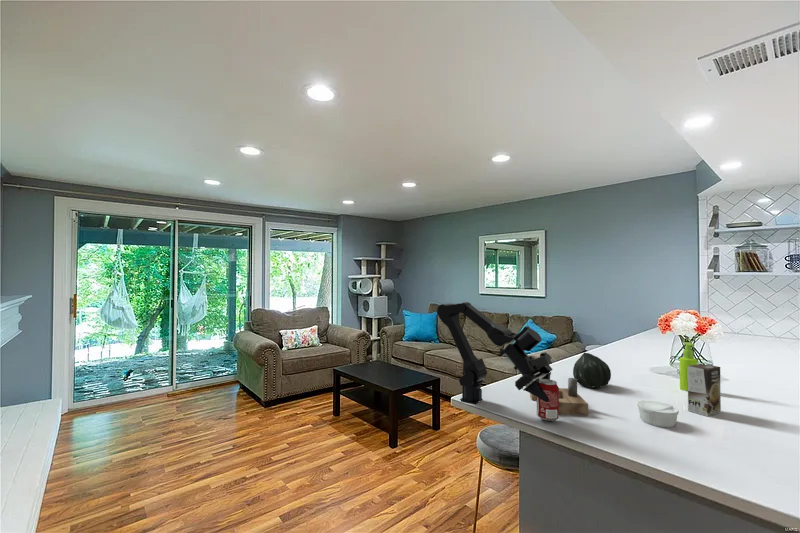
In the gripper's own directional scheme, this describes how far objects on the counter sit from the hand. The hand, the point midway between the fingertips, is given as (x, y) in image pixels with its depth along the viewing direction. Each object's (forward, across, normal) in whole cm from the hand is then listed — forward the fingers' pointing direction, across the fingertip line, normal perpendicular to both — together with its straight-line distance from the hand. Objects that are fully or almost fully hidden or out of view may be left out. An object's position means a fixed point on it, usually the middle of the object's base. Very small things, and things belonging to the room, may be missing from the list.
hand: (551, 398), depth 123 cm
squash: (+4, +53, +7) cm, 53 cm away
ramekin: (+23, +24, -13) cm, 36 cm away
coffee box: (+31, +47, -20) cm, 60 cm away
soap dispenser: (+26, +74, -16) cm, 80 cm away
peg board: (+2, +17, +8) cm, 19 cm away
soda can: (+4, 0, +6) cm, 7 cm away
